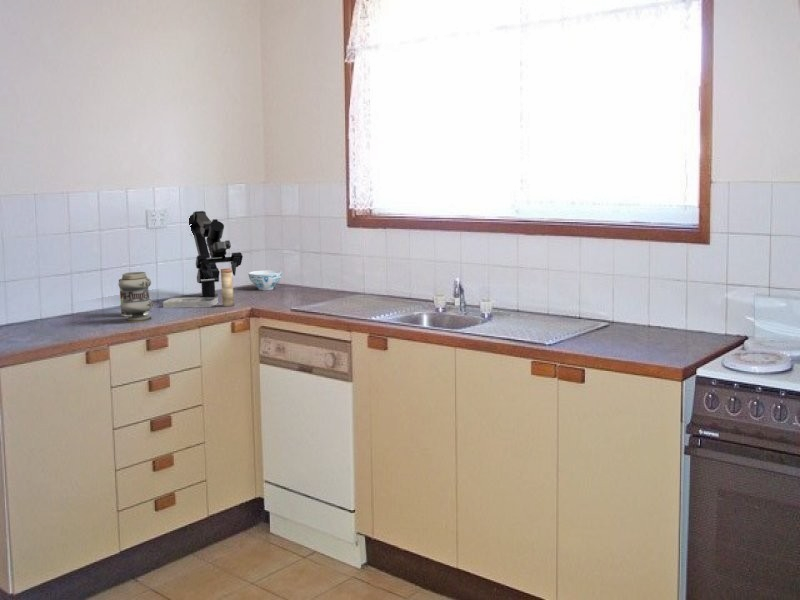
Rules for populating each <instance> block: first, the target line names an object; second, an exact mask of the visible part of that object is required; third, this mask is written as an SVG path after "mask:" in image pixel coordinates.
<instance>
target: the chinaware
mask: <svg viewBox="0 0 800 600" xmlns="http://www.w3.org/2000/svg"><path fill="white" fill-rule="evenodd" d="M282 273H283V271H281V270H275V269H274V270H273V269H270V270H266V269H265V270H256V271H255V270H254V271H250V272H248V277H249V280H250V282H251V283H252V284H253V286H255V287H256V288H258V290H259V291H270V290H274V287H275V286H277V285H278V284H279V282H280V280H281V277H282Z"/></svg>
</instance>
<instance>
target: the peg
mask: <svg viewBox="0 0 800 600" xmlns="http://www.w3.org/2000/svg"><path fill="white" fill-rule="evenodd" d="M220 276H221V277H220V281H221V294H222V307H223V306H224V308H229V307H231V306H232V307H234V306H235V300H234V298H235V297H234V283H233V272H232V268H221V269H220Z"/></svg>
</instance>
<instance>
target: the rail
mask: <svg viewBox="0 0 800 600" xmlns="http://www.w3.org/2000/svg"><path fill="white" fill-rule="evenodd" d="M217 303H218V304H219V297H218V296H214V297H170V298H168V299H166V300H164V301H162V309H176V308H177V309H178V308H181V309H182V308H212V307H214V306H216V305H218V304H217Z"/></svg>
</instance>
